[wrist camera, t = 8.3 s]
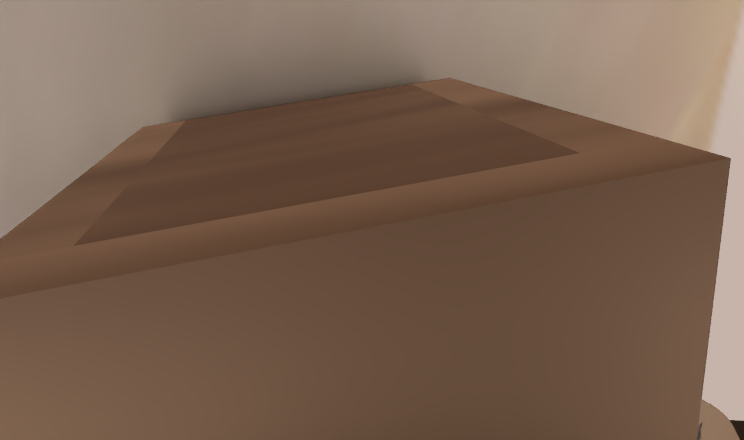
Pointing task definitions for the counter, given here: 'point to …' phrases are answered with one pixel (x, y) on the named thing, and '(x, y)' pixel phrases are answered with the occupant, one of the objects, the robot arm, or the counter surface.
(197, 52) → the counter surface
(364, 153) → the brown box
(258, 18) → the counter surface
